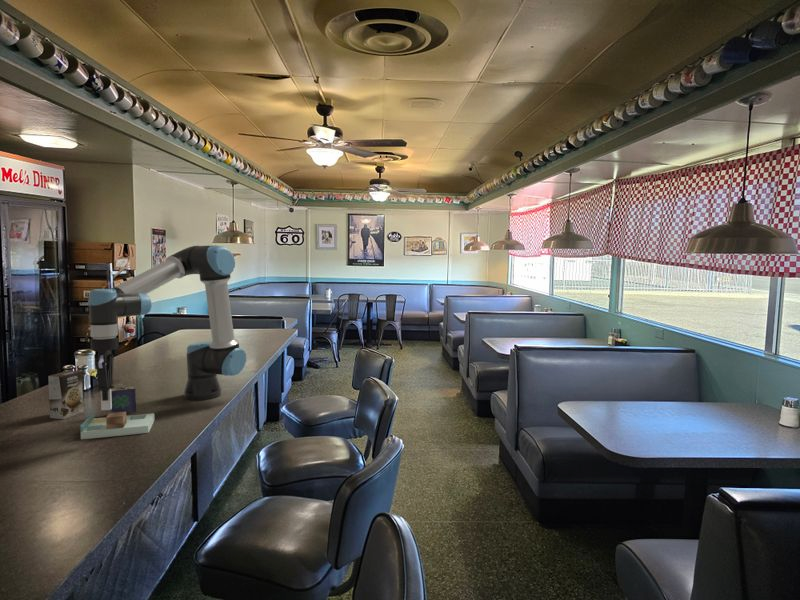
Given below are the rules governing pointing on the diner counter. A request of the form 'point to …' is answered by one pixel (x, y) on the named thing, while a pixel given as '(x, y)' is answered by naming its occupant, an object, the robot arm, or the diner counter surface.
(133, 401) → the flask
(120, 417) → the walnut block
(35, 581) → the diner counter surface
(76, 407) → the coffee box
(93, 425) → the board
